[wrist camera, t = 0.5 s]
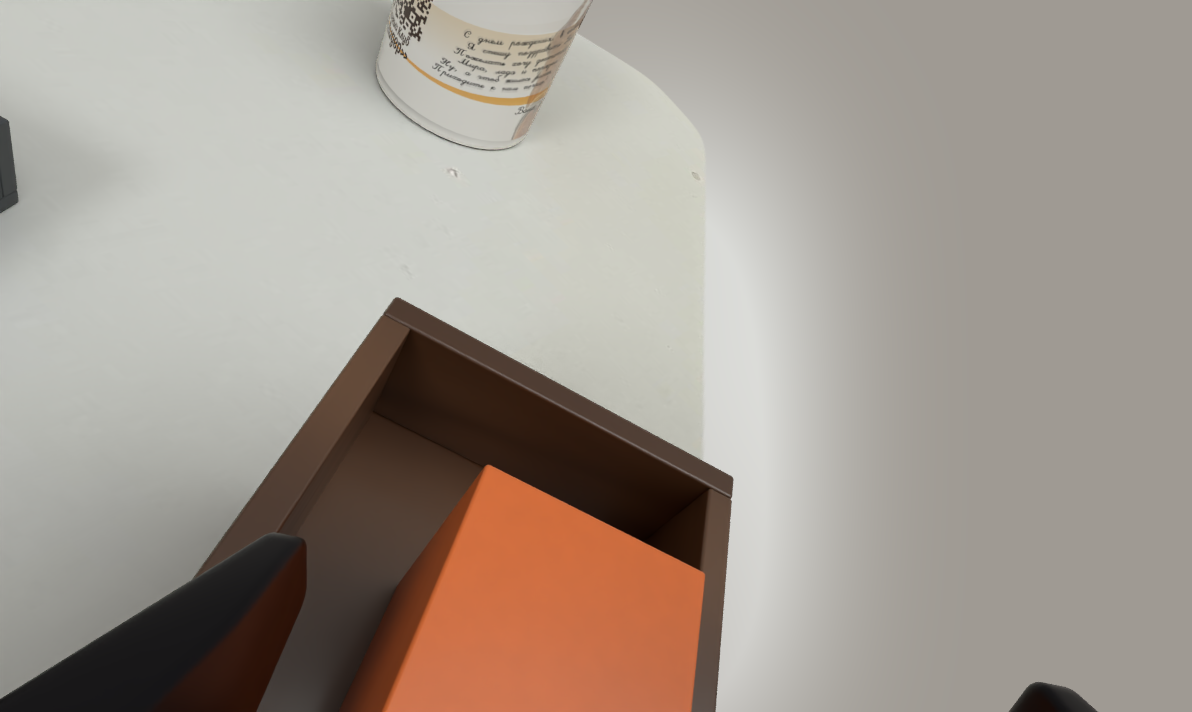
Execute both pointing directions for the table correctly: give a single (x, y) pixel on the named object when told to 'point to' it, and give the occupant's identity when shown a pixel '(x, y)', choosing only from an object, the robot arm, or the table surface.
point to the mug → (475, 64)
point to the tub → (6, 168)
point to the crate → (456, 489)
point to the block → (533, 615)
